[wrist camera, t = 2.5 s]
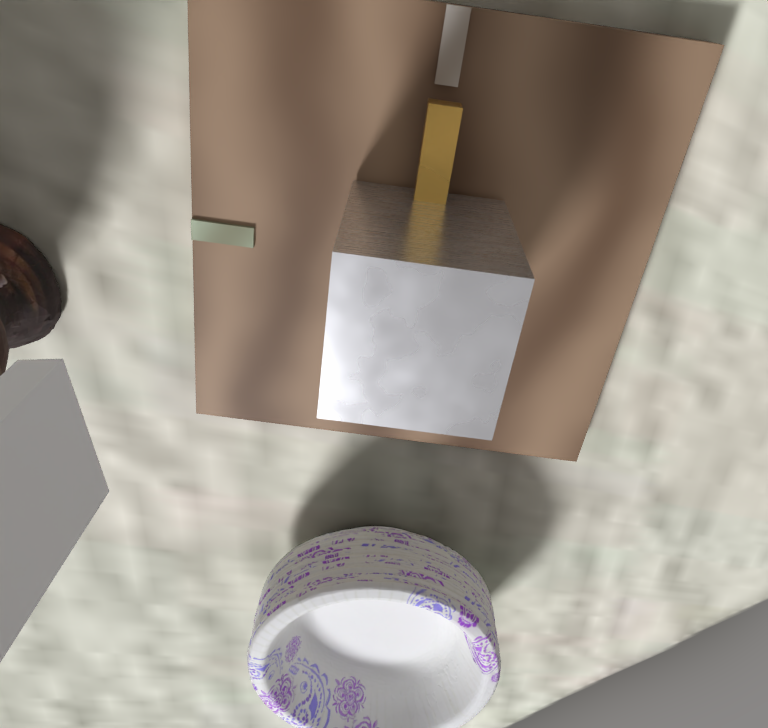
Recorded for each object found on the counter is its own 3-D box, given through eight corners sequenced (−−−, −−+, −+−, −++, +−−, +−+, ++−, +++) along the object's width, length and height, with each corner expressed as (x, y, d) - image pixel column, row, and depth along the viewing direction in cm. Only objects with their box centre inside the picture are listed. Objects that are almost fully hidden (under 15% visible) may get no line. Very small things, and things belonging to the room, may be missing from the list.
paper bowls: (534, 551, 44) (556, 656, 38) (413, 669, 51) (413, 776, 44) (334, 454, 41) (318, 551, 34) (234, 595, 48) (204, 699, 41)
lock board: (203, 398, 39) (195, 415, 38) (197, -35, 28) (185, -35, 26) (570, 445, 40) (576, 463, 38) (710, 41, 28) (726, 45, 27)
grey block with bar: (474, 334, 34) (492, 440, 26) (338, 316, 34) (316, 418, 26) (524, 109, 28) (566, 161, 21) (362, 86, 28) (343, 130, 21)
